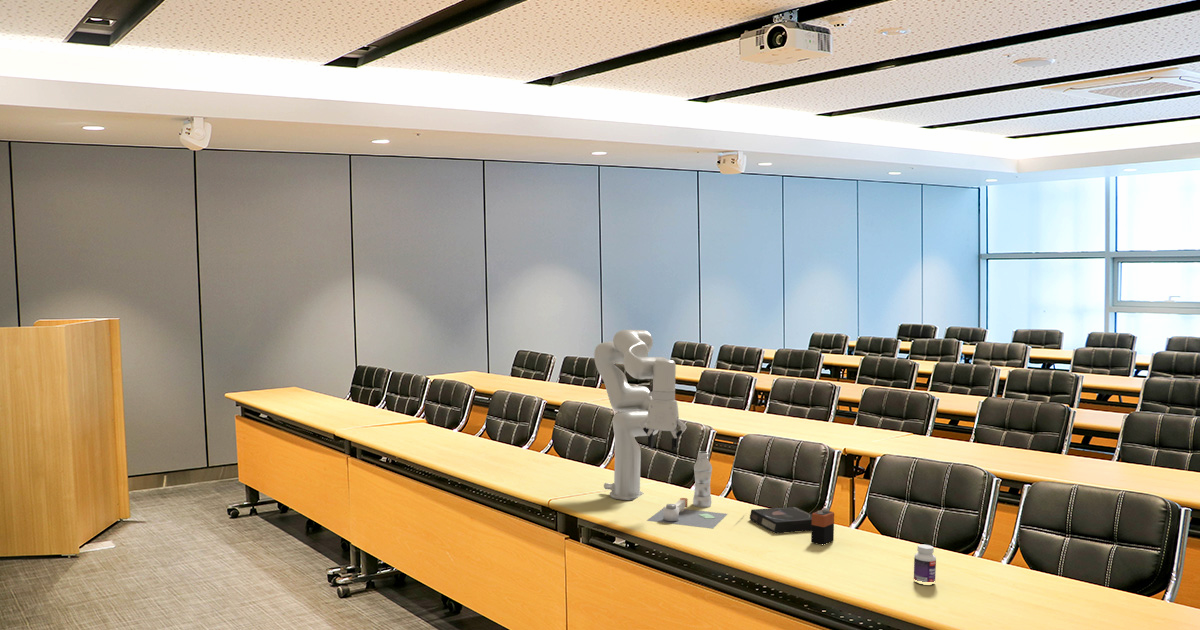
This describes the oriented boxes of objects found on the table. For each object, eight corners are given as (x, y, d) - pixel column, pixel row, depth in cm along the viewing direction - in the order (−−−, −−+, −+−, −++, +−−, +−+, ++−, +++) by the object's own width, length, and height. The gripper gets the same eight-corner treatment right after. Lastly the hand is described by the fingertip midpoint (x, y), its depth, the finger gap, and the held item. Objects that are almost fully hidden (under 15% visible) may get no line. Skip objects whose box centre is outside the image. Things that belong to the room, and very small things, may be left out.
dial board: (646, 525, 286) (646, 519, 286) (664, 511, 304) (665, 506, 304) (712, 533, 277) (713, 527, 277) (727, 518, 296) (727, 513, 296)
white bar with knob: (661, 520, 285) (661, 505, 285) (677, 507, 302) (677, 494, 302) (676, 521, 283) (676, 507, 283) (691, 509, 300) (691, 495, 300)
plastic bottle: (711, 507, 311) (712, 450, 310) (711, 512, 304) (712, 454, 303) (692, 506, 311) (693, 450, 311) (692, 511, 304) (694, 453, 304)
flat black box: (749, 521, 294) (749, 509, 294) (794, 518, 300) (794, 506, 299) (774, 535, 279) (774, 522, 279) (821, 531, 284) (821, 519, 284)
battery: (834, 541, 271) (835, 509, 271) (823, 546, 266) (824, 513, 266) (821, 538, 274) (822, 506, 274) (810, 543, 269) (811, 510, 269)
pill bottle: (932, 587, 230) (934, 550, 230) (911, 583, 233) (912, 547, 233) (937, 581, 235) (938, 545, 234) (916, 578, 238) (917, 542, 237)
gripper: (635, 395, 297) (634, 448, 297) (685, 399, 290) (684, 452, 291) (642, 393, 304) (641, 444, 304) (691, 396, 297) (690, 448, 298)
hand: (662, 448), depth 298 cm, fingers open, 7 cm apart
